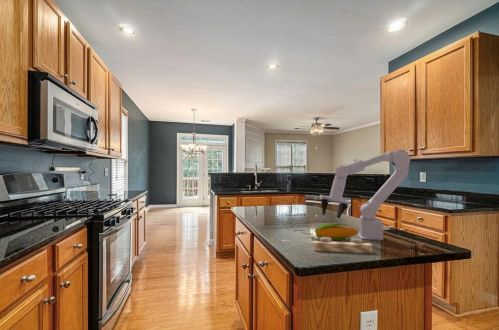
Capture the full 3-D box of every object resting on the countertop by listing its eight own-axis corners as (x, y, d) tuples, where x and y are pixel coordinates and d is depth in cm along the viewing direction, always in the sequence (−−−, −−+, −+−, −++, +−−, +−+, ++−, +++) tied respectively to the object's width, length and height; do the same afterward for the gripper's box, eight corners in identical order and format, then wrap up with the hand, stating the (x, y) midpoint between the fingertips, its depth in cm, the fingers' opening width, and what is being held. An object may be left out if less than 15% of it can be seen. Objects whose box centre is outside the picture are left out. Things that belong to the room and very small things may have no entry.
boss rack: (368, 247, 103) (368, 238, 103) (373, 253, 96) (372, 243, 96) (313, 245, 107) (313, 236, 107) (314, 250, 100) (314, 240, 101)
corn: (312, 221, 118) (354, 220, 119) (312, 237, 119) (353, 236, 120) (318, 226, 111) (361, 225, 112) (318, 243, 111) (361, 241, 112)
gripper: (348, 191, 127) (341, 216, 128) (320, 185, 127) (314, 210, 128) (354, 194, 120) (347, 220, 121) (325, 187, 120) (318, 214, 121)
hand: (330, 215), depth 124 cm, fingers open, 7 cm apart
